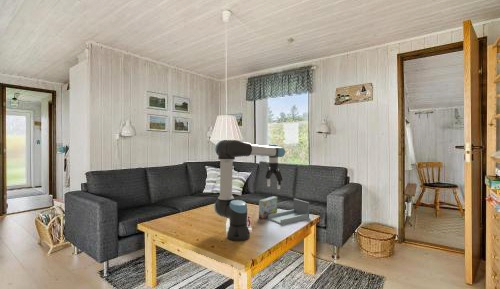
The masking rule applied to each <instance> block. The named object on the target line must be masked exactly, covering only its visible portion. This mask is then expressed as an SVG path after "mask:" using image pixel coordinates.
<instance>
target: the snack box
mask: <svg viewBox="0 0 500 289" xmlns="http://www.w3.org/2000/svg"><path fill="white" fill-rule="evenodd" d="M274 213H278V196H273V195H272V196H268V197H267V198H266V197H265V198H263V199H260V200H259V201H258V219H261V220H265V219H268V215H269V214H274Z"/></svg>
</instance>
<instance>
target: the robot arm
mask: <svg viewBox="0 0 500 289" xmlns="http://www.w3.org/2000/svg"><path fill="white" fill-rule="evenodd" d="M214 149H215V150H214V151H215V153H216V155H217V157H218V161H219V162H220V164H219V165H220V166H219V167H220V171H219V174H220V175H219V178H220V179H219V196H217V200H216V202H215V203H214V206H213V207H214V211H215V213H216V214H217V215H218V216H220V217H223V218H226V219H228V220H229V227H228V230H227V233H226V236H227V237H226V238H227V239H228V240H229V241H234V242H243V241H246V240H249V239H250V237H251V233H250V230H249V226H248V204H247V203H246V202H245V201H243V200H239V199H236V200H235V197H234V196H233V162H234V161H235V160H236V159H235V158H239V157H249V156H256V157H257V156H258V157H259V156H260V157H268V167H267V171H266V172H265V173H266V174H265V178H266V181H267V182H266V186H267V187H271V177H272V176H273V175H275V178H276V180H277V181H276V183H277V184H276V190H280V189H281V184H282V183H281V182H282V181H283V177H282V174H281V170H280V168H279V158H283V157H285V155H286V149H285V148H284V147H282V146H279V145H278V144H277V143H270V144H268V145H261V144H260V145H259V144H251V143H250V142H245V141H241V140H235V139H232V140H231V139H223V140H220V141H219V142H218V143H216V145H215V147H214Z"/></svg>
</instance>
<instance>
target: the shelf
mask: <svg viewBox="0 0 500 289" xmlns="http://www.w3.org/2000/svg"><path fill="white" fill-rule="evenodd" d="M292 204H293V209H290V210H289V209H288V210H284V211H280V212H279V211H277V213H274V214H269V215H268V218H267V220H269V221H272V222H274V223H276V224H279V225H281V226H283V225H287V224H291V223H295V222H299V221H300V222H301V221H303V220H307V219H310V202H309V201H305V200H301V199H298V198H293V203H292Z"/></svg>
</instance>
